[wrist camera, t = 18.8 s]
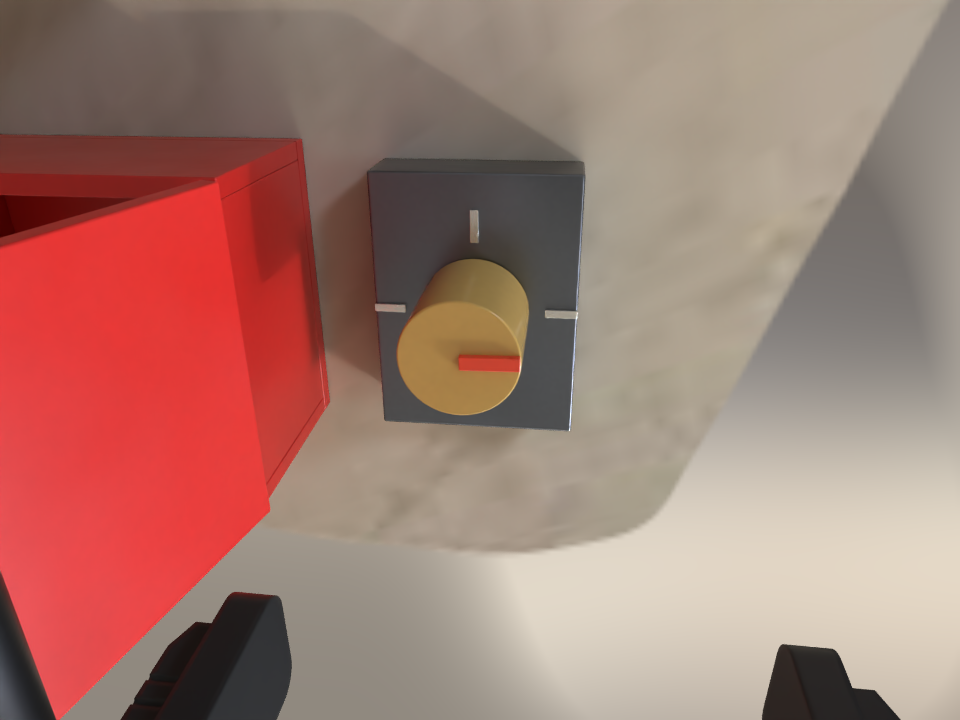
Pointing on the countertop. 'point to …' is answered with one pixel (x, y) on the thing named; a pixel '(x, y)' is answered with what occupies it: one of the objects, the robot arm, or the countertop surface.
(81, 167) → the red lidded box
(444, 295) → the valve knob
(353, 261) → the countertop surface
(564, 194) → the panel
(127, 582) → the red box lid
